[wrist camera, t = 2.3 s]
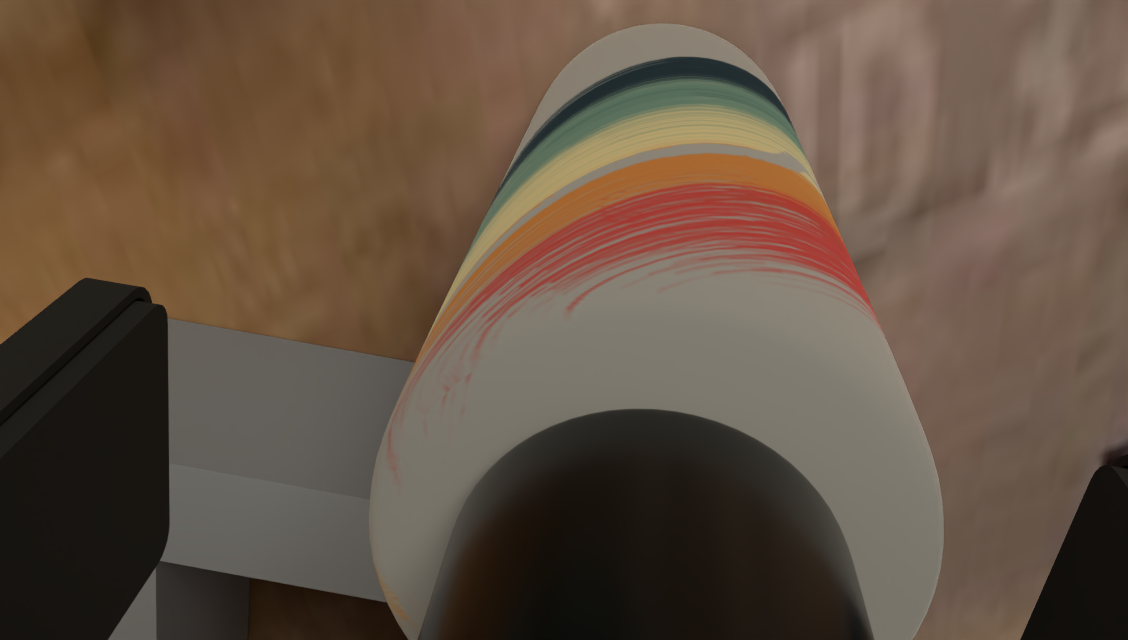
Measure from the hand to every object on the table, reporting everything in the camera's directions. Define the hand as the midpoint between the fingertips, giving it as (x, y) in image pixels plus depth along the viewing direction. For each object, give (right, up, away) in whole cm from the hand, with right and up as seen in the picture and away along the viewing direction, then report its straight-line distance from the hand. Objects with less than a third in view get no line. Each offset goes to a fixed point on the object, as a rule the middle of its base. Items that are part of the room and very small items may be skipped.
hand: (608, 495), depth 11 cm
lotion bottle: (+2, +6, +13) cm, 15 cm away
